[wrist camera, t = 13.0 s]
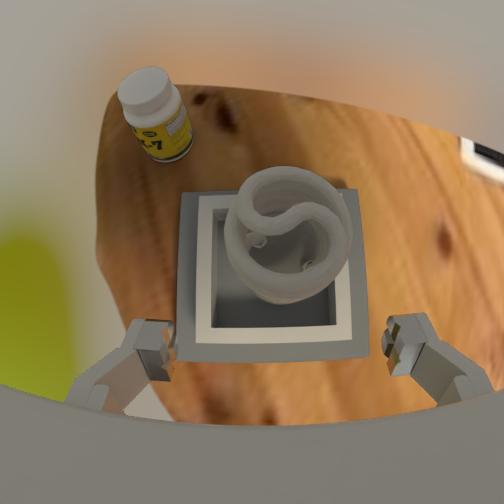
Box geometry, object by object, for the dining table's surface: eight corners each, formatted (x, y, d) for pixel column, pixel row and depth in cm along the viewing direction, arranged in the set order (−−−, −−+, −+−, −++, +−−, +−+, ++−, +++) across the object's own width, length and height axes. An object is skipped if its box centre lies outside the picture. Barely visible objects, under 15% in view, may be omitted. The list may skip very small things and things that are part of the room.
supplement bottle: (136, 152, 28) (100, 98, 20) (166, 115, 29) (140, 57, 21) (174, 172, 27) (143, 116, 19) (205, 133, 28) (186, 71, 20)
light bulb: (228, 293, 23) (190, 257, 11) (257, 223, 24) (249, 131, 13) (302, 322, 22) (340, 315, 11) (328, 250, 24) (381, 178, 12)
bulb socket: (352, 196, 26) (365, 174, 22) (363, 355, 23) (380, 359, 19) (186, 199, 27) (173, 178, 23) (181, 359, 24) (166, 364, 20)
